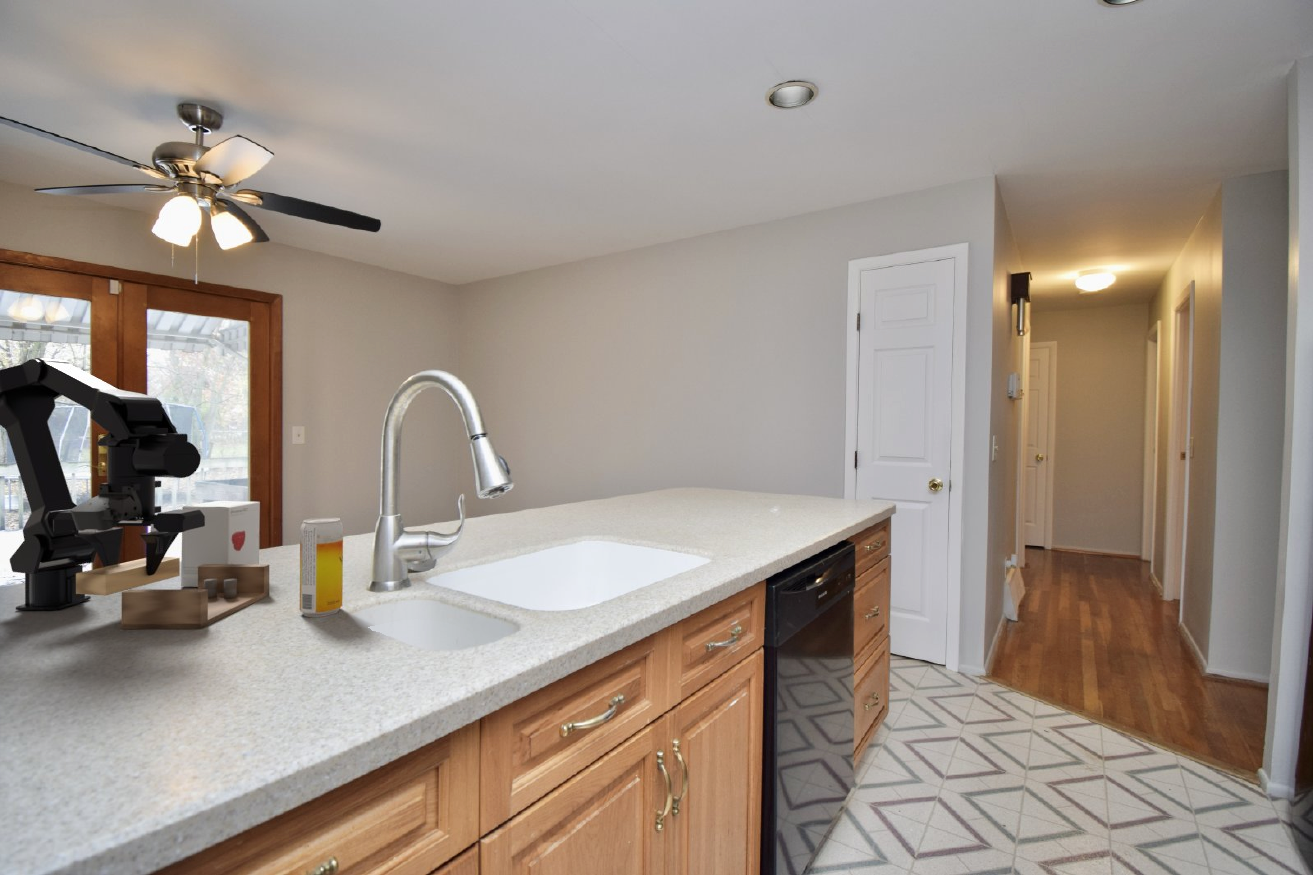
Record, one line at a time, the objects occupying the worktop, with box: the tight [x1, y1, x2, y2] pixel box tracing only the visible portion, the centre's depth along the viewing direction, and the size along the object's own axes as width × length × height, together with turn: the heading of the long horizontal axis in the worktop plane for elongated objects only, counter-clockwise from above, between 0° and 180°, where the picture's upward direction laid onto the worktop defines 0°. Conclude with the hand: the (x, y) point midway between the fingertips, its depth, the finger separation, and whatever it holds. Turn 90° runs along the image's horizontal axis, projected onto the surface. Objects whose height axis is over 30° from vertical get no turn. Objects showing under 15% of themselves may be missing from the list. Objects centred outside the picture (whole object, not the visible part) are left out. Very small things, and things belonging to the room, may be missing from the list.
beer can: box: [299, 516, 344, 618], centre depth 99 cm, size 6×6×15 cm
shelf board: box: [76, 556, 181, 596], centre depth 96 cm, size 5×12×3 cm, turn 172°
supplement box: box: [180, 500, 261, 588], centre depth 116 cm, size 9×9×15 cm
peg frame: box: [121, 563, 270, 630], centre depth 99 cm, size 11×18×5 cm, turn 4°
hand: (131, 575), depth 96 cm, fingers closed on shelf board, 5 cm apart
